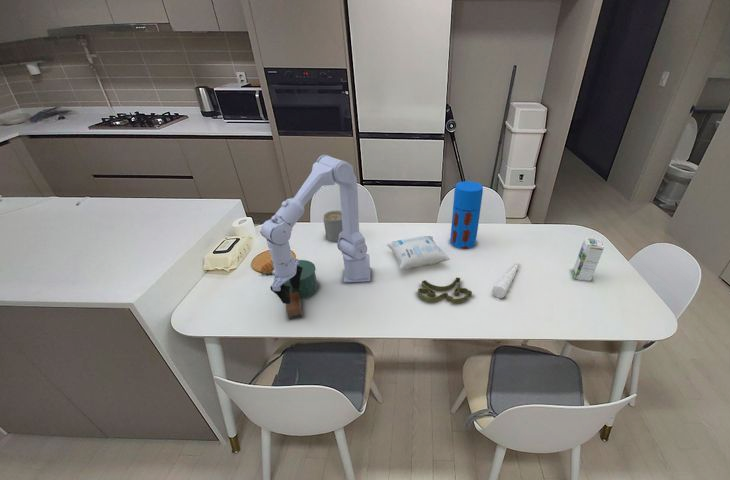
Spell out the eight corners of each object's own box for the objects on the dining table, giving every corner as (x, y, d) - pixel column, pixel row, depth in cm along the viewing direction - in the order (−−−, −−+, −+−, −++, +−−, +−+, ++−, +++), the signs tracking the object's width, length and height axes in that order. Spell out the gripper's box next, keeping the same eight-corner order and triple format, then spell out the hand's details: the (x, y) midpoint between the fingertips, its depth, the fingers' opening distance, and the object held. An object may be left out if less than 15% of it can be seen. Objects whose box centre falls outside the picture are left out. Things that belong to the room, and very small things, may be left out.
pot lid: (317, 261, 125) (316, 254, 123) (313, 282, 115) (311, 274, 113) (281, 263, 124) (279, 255, 122) (273, 284, 114) (271, 276, 112)
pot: (319, 278, 128) (316, 261, 124) (315, 298, 119) (311, 280, 115) (287, 279, 127) (282, 262, 123) (280, 299, 118) (275, 282, 114)
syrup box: (572, 270, 133) (583, 237, 124) (588, 272, 132) (601, 238, 123) (574, 279, 128) (586, 245, 120) (591, 281, 127) (605, 247, 119)
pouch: (433, 228, 143) (386, 233, 138) (452, 252, 129) (400, 259, 124) (431, 244, 148) (386, 250, 143) (449, 269, 134) (399, 277, 129)
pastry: (265, 278, 128) (263, 269, 126) (259, 270, 132) (256, 261, 130) (290, 269, 133) (287, 260, 131) (282, 261, 137) (280, 253, 135)
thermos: (477, 249, 145) (485, 191, 130) (451, 249, 145) (456, 191, 130) (473, 236, 154) (480, 181, 139) (449, 236, 154) (454, 180, 139)
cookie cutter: (464, 281, 127) (465, 276, 126) (473, 302, 118) (474, 297, 116) (415, 285, 125) (415, 280, 124) (421, 306, 116) (421, 302, 114)
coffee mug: (324, 241, 149) (321, 220, 143) (328, 230, 157) (325, 210, 151) (356, 241, 150) (353, 220, 144) (358, 230, 158) (356, 210, 152)
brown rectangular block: (302, 317, 111) (300, 308, 109) (288, 319, 110) (286, 310, 108) (300, 300, 118) (298, 291, 116) (287, 302, 117) (285, 293, 115)
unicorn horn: (527, 268, 134) (530, 257, 131) (503, 300, 118) (505, 289, 116) (515, 264, 136) (517, 253, 133) (490, 295, 121) (492, 284, 118)
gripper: (280, 245, 109) (289, 280, 117) (257, 272, 97) (269, 308, 105) (301, 247, 108) (309, 282, 116) (281, 274, 96) (291, 311, 105)
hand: (291, 295), depth 111 cm, fingers open, 7 cm apart
